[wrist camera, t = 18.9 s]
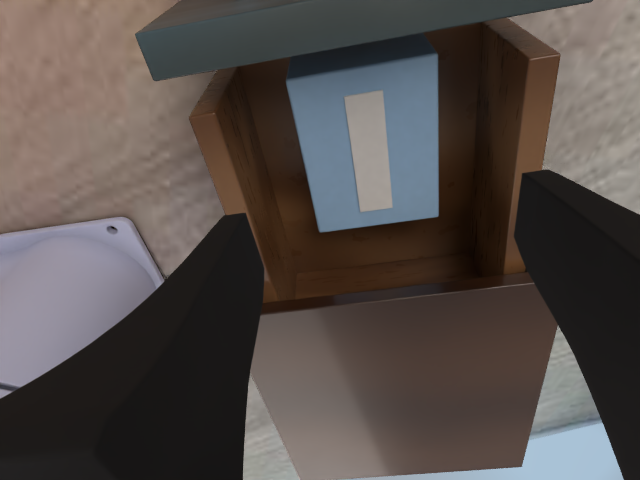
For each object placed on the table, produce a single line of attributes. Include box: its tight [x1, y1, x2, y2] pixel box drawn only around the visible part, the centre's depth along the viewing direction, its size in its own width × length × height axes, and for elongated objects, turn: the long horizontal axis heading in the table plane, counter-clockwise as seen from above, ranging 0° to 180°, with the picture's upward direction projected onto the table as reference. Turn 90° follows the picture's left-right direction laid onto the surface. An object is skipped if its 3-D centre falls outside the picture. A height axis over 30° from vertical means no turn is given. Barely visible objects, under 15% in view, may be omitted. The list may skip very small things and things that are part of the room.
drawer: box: [135, 0, 593, 303], centre depth 14 cm, size 20×11×5 cm, turn 10°
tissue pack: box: [286, 33, 439, 233], centre depth 16 cm, size 5×6×3 cm
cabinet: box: [250, 269, 558, 480], centre depth 22 cm, size 14×12×7 cm
